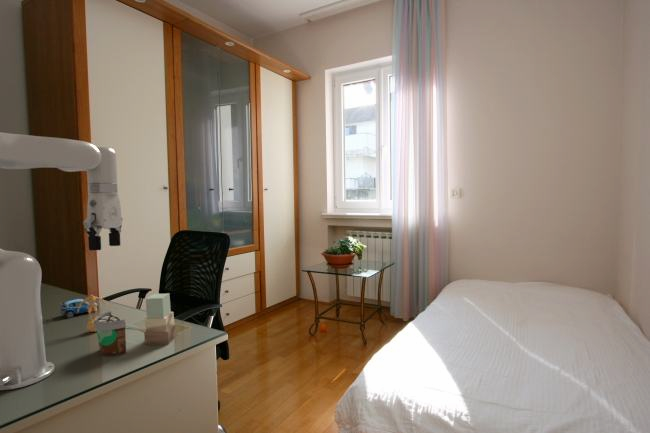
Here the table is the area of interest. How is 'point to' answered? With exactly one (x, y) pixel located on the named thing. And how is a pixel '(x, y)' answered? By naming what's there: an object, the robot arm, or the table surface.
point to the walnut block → (161, 336)
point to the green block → (158, 305)
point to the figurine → (91, 301)
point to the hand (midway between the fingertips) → (105, 247)
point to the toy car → (74, 307)
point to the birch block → (160, 323)
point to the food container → (110, 334)
